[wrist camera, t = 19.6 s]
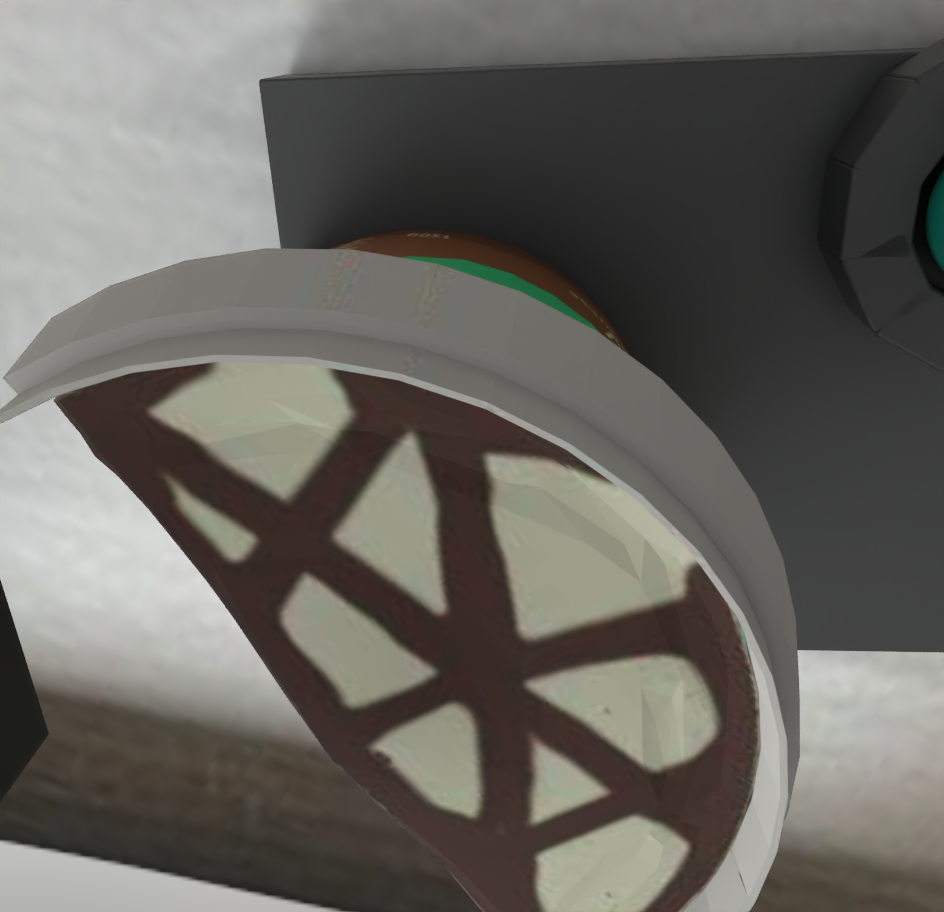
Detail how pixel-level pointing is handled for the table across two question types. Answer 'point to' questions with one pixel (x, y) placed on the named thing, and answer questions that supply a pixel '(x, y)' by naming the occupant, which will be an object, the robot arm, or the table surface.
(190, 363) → the food container
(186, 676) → the table surface
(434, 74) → the grey button box
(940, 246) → the button
